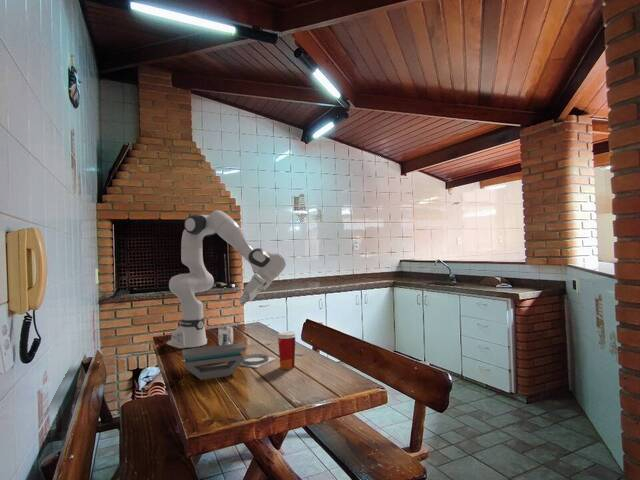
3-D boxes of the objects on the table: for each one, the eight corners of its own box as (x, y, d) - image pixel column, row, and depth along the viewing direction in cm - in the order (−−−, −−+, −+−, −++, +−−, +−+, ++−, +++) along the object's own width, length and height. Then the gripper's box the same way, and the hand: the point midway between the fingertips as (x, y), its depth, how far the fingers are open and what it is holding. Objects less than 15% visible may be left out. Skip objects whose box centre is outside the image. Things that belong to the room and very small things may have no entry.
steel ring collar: (235, 362, 172) (235, 359, 172) (253, 355, 183) (253, 352, 183) (256, 366, 166) (256, 363, 166) (273, 358, 177) (273, 356, 177)
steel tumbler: (230, 361, 176) (229, 329, 176) (216, 361, 177) (215, 328, 177) (236, 357, 182) (235, 325, 182) (222, 356, 184) (222, 325, 184)
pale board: (233, 364, 172) (233, 362, 172) (253, 355, 184) (253, 354, 184) (257, 368, 165) (257, 367, 165) (276, 359, 177) (276, 358, 177)
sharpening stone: (183, 382, 150) (182, 355, 150) (182, 376, 158) (181, 350, 158) (246, 373, 160) (245, 347, 160) (242, 367, 167) (242, 342, 167)
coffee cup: (288, 363, 171) (287, 329, 172) (300, 367, 166) (299, 332, 166) (273, 367, 166) (273, 333, 166) (285, 372, 160) (285, 336, 160)
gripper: (256, 282, 196) (237, 302, 191) (255, 272, 176) (233, 294, 172) (265, 290, 195) (246, 310, 190) (265, 281, 176) (244, 303, 171)
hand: (240, 303), depth 181 cm, fingers open, 8 cm apart
